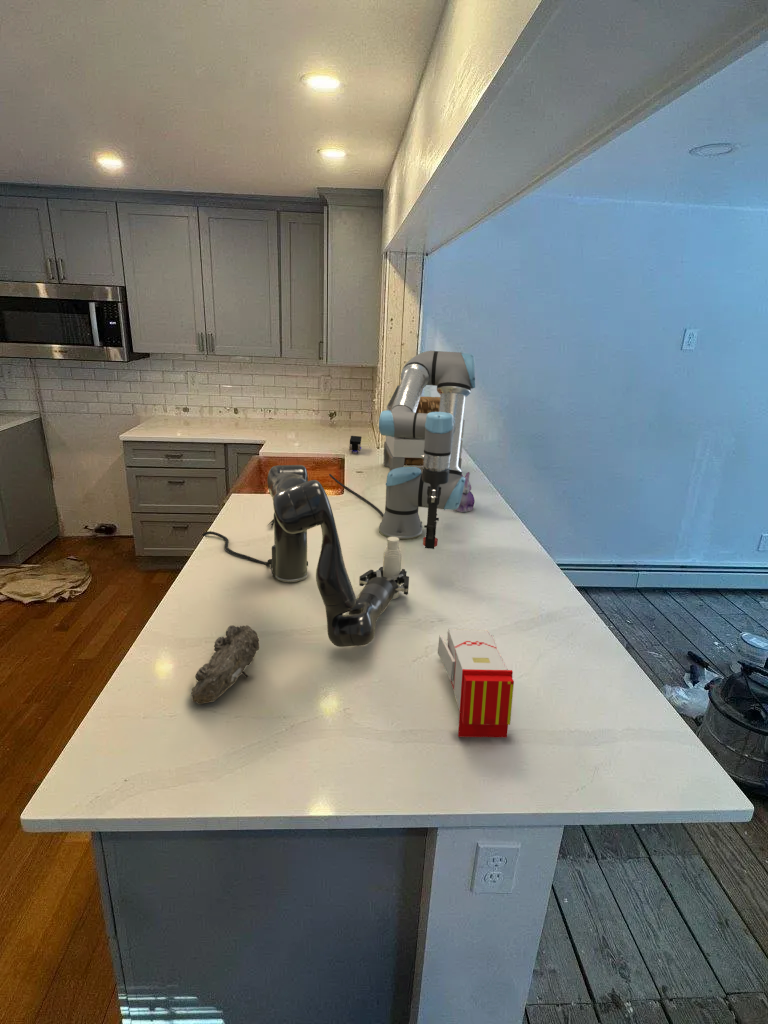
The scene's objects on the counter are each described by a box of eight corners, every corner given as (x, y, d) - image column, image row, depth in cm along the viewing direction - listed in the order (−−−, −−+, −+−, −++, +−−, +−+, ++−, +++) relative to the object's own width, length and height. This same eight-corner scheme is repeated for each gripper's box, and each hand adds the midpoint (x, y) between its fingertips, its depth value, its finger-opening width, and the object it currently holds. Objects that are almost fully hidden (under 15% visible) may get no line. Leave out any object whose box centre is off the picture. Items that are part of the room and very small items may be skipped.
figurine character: (361, 457, 304) (361, 447, 317) (361, 444, 301) (362, 434, 314) (348, 456, 304) (349, 447, 317) (348, 443, 300) (349, 434, 314)
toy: (488, 613, 130) (523, 677, 101) (484, 667, 133) (517, 744, 104) (435, 612, 130) (455, 676, 101) (432, 666, 133) (451, 743, 103)
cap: (436, 541, 169) (436, 536, 168) (438, 547, 165) (439, 541, 164) (421, 541, 169) (422, 536, 168) (423, 547, 165) (424, 541, 164)
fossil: (211, 627, 129) (258, 597, 124) (240, 656, 132) (287, 627, 127) (170, 698, 110) (224, 665, 105) (204, 729, 113) (259, 699, 108)
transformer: (382, 463, 289) (386, 382, 275) (445, 464, 293) (451, 384, 279) (390, 482, 257) (394, 392, 243) (460, 483, 261) (468, 394, 247)
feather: (287, 506, 225) (290, 502, 224) (270, 530, 198) (272, 526, 198) (283, 504, 225) (286, 500, 224) (265, 527, 198) (268, 523, 197)
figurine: (461, 514, 221) (464, 477, 216) (446, 506, 230) (449, 470, 225) (480, 511, 226) (484, 475, 221) (466, 503, 234) (469, 468, 229)
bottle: (402, 595, 157) (406, 539, 152) (390, 600, 154) (393, 543, 148) (390, 589, 160) (393, 533, 155) (377, 594, 157) (380, 538, 152)
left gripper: (402, 589, 139) (420, 562, 154) (348, 579, 143) (370, 553, 158) (401, 616, 142) (418, 586, 157) (347, 605, 145) (369, 577, 161)
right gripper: (424, 459, 168) (419, 533, 175) (420, 475, 151) (415, 555, 159) (449, 461, 167) (443, 535, 175) (448, 477, 151) (441, 557, 158)
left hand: (394, 570), depth 157 cm, fingers closed on bottle, 5 cm apart
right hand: (429, 544), depth 167 cm, fingers closed on cap, 4 cm apart
